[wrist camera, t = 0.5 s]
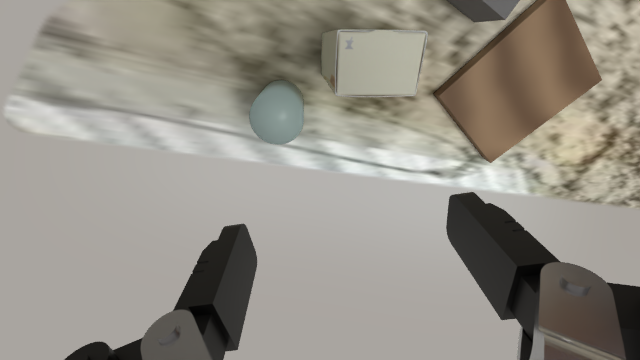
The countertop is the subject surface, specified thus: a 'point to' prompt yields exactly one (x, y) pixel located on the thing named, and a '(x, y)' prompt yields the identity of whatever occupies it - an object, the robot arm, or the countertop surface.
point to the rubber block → (485, 9)
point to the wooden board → (520, 79)
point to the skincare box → (373, 61)
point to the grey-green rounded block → (278, 112)
